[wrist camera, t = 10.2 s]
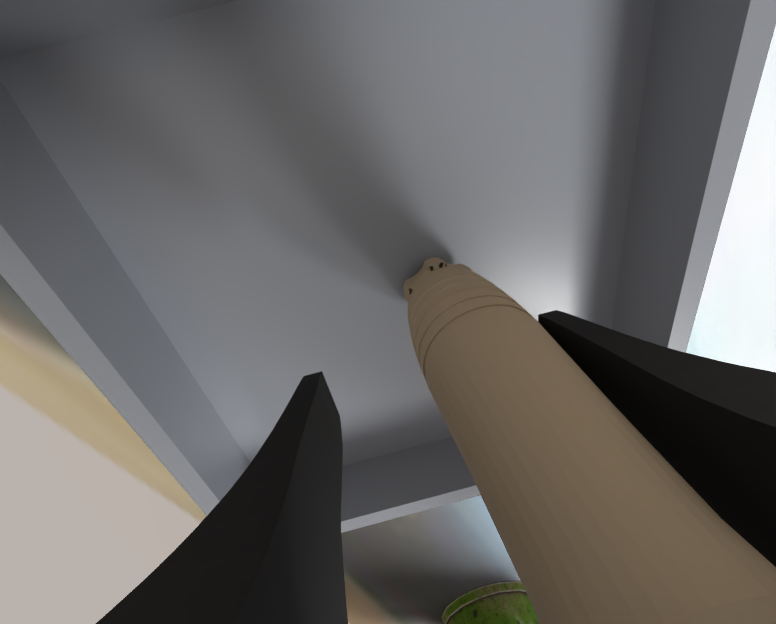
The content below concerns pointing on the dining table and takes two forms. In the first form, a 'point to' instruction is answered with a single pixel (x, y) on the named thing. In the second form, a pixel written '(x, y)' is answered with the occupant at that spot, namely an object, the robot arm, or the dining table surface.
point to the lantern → (492, 606)
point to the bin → (353, 199)
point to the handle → (573, 472)
